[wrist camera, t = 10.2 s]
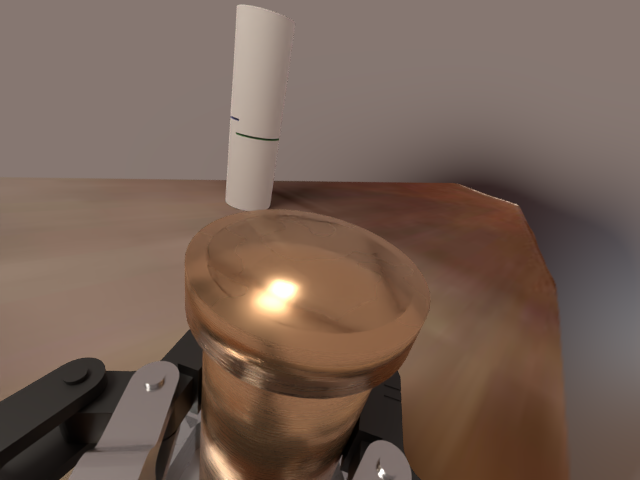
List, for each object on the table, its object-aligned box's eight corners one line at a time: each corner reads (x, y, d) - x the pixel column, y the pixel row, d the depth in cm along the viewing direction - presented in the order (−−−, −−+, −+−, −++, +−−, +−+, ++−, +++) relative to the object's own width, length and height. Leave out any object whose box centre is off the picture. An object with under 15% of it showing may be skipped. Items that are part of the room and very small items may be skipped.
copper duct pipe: (152, 552, 10) (109, 286, 5) (232, 403, 15) (255, 195, 10) (305, 621, 10) (454, 403, 4) (335, 442, 15) (418, 241, 9)
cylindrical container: (253, 192, 51) (271, 23, 40) (278, 207, 47) (306, 26, 36) (216, 196, 46) (225, 4, 34) (241, 214, 42) (260, 4, 31)
